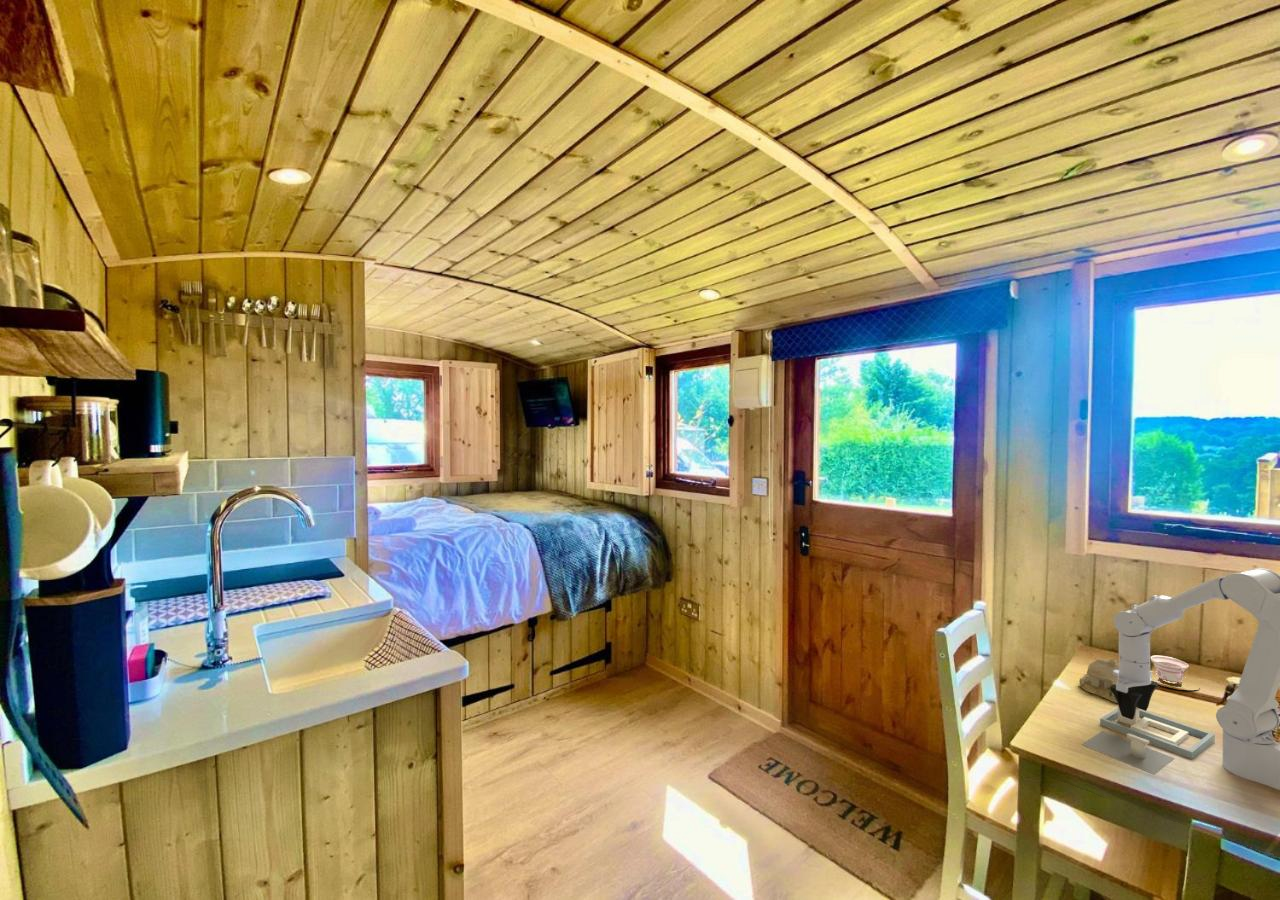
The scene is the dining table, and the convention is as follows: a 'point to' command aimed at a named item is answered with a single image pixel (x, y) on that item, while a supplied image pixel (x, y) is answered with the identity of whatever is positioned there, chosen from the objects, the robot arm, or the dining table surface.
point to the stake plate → (1129, 751)
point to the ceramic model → (1100, 678)
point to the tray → (1190, 753)
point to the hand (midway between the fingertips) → (1134, 713)
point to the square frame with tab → (1144, 722)
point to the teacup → (1169, 668)
